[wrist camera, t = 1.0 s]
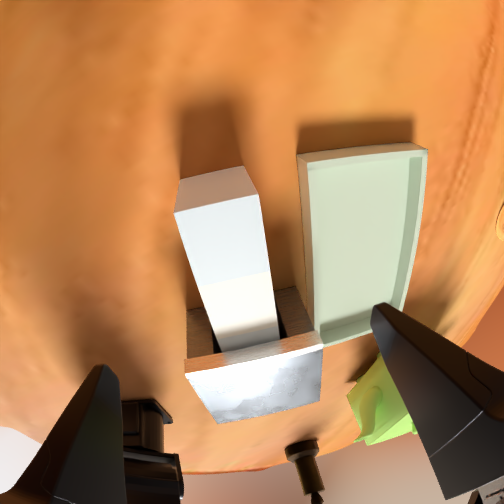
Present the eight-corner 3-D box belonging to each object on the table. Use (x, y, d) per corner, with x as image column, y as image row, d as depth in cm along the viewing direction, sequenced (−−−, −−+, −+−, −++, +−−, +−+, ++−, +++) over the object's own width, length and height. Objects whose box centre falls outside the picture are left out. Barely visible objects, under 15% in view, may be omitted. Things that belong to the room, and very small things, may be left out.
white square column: (269, 318, 25) (283, 363, 21) (224, 328, 25) (231, 375, 21) (243, 165, 17) (258, 194, 13) (179, 179, 17) (173, 213, 13)
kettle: (324, 370, 32) (357, 452, 22) (426, 307, 29) (477, 377, 20) (355, 403, 40) (380, 461, 30) (431, 356, 37) (464, 410, 28)
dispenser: (299, 345, 28) (319, 400, 22) (211, 365, 27) (217, 423, 22) (295, 280, 23) (323, 343, 18) (184, 305, 23) (184, 374, 17)
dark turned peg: (315, 446, 49) (338, 517, 34) (285, 454, 49) (305, 527, 34) (317, 436, 46) (342, 516, 31) (283, 445, 45) (305, 527, 30)
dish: (389, 309, 28) (398, 322, 26) (307, 334, 27) (314, 350, 25) (410, 142, 18) (427, 149, 16) (296, 154, 18) (306, 162, 16)
